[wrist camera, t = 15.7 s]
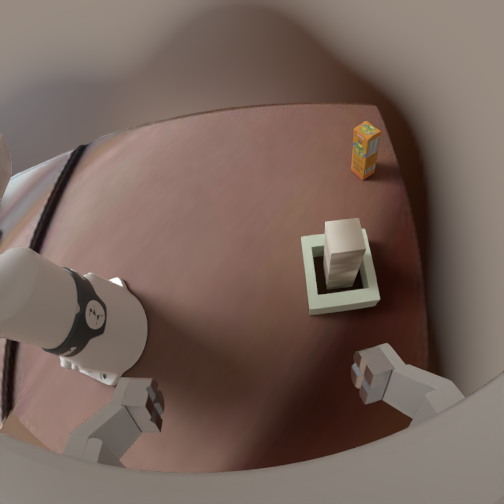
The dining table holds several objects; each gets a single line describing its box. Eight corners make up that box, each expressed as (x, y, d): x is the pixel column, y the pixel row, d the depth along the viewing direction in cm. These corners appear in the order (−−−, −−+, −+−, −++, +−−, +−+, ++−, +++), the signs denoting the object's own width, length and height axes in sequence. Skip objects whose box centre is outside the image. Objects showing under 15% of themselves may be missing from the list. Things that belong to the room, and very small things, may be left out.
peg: (326, 290, 36) (331, 253, 26) (323, 265, 38) (325, 221, 27) (351, 286, 36) (366, 248, 25) (347, 262, 37) (358, 217, 27)
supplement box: (348, 170, 44) (352, 126, 35) (362, 162, 44) (367, 119, 35) (361, 182, 43) (368, 138, 34) (375, 173, 43) (383, 130, 34)
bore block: (309, 315, 36) (309, 309, 32) (302, 248, 40) (300, 236, 37) (374, 306, 34) (380, 299, 31) (361, 240, 38) (364, 228, 35)
